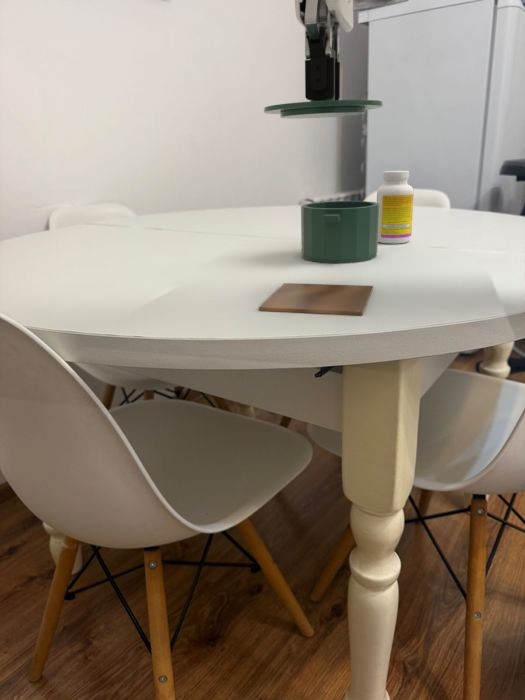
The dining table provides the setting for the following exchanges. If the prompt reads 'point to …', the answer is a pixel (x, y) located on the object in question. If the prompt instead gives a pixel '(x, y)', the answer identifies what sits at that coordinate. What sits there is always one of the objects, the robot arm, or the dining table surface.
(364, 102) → the pot lid
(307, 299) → the plate
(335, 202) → the pot
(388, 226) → the supplement bottle
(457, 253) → the dining table surface
